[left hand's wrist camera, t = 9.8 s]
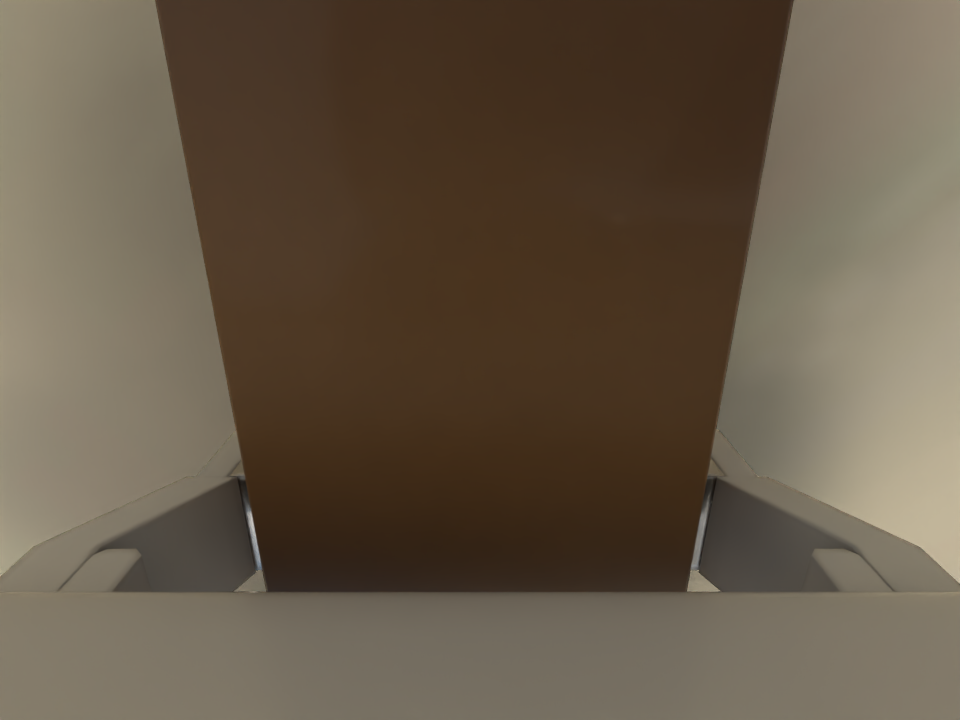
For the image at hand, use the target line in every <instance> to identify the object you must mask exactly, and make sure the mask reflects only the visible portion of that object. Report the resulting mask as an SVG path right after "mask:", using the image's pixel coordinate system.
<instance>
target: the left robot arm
mask: <svg viewBox="0 0 960 720" xmlns="http://www.w3.org/2000/svg"><path fill="white" fill-rule="evenodd" d="M255 570H262V566H261V561H260V555H259V550H258V545H257V539H256V534H255V529H254V523H253V518H252V513H251V507H250V502H249V497H248V491H247V486H246V481H245V475H244V470H243V465H242V459H241V454H240V449H239V443H238V438H237V433H236V430H235V431H234V433H233V434H232V435H231V436H230V437H229V438H228V440H227V441H226V442H225V443H224V444H223V445H222V447H221V448H220V449H219V450H218V451H217V452H216V454H215V455H214V456H213V457H212V458H211V460H210V461H209V462H208V463H207V464H206V465H205V467H204V468H203V469H202V470H201V471H200V472H199V474H198V475H197V476H196V477H185V478H183V479H181V480H179V481H176V482H174V483H172V484H170V485H168V486H165V487H163V488H161V489H159V490H157V491H154V492H152V493H150V494H148V495H146V496H143V497H141V498H139V499H137V500H135V501H132V502H130V503H128V504H126V505H124V506H121V507H119V508H117V509H115V510H113V511H111V512H108V513H106V514H104V515H102V516H100V517H97V518H95V519H93V520H91V521H89V522H86V523H84V524H82V525H80V526H78V527H75V528H73V529H71V530H69V531H67V532H64V533H62V534H60V535H58V536H56V537H53V538H51V539H49V540H47V541H45V542H42V543H40V544H38V545H36V546H34V547H32V548H31V549H30V550H29V551H28V552H27V553H26V554H25V555H24V556H23V557H21V558H20V559H19V560H18V561H17V562H16V563H15V564H14V565H13V566H11V567H10V568H9V569H8V570H7V571H6V572H5V573H4V574H3V575H2V576H0V720H960V584H959V583H958V582H957V581H956V580H955V579H954V578H953V577H952V576H951V575H949V574H948V573H947V572H946V571H945V570H944V569H943V568H942V567H941V566H940V565H939V564H938V563H937V562H935V561H934V560H933V559H932V558H931V557H930V556H929V555H928V554H927V553H926V552H925V551H924V550H922V549H921V548H920V547H918V546H916V545H914V544H912V543H910V542H907V541H905V540H903V539H901V538H899V537H897V536H894V535H892V534H890V533H888V532H886V531H884V530H881V529H879V528H877V527H875V526H873V525H871V524H868V523H866V522H864V521H862V520H860V519H858V518H855V517H853V516H851V515H849V514H847V513H845V512H842V511H840V510H838V509H836V508H834V507H832V506H829V505H827V504H825V503H823V502H821V501H819V500H816V499H814V498H812V497H810V496H808V495H806V494H803V493H801V492H799V491H797V490H795V489H793V488H790V487H788V486H786V485H784V484H782V483H780V482H777V481H775V480H773V479H771V478H769V477H758V476H757V475H756V474H755V472H754V471H753V470H752V469H751V468H750V466H749V465H748V464H747V463H746V462H745V460H744V459H743V458H742V457H741V456H740V454H739V453H738V452H737V451H736V450H735V449H734V447H733V446H732V445H731V444H730V443H729V441H728V440H727V439H726V438H725V437H724V435H723V434H722V433H721V432H720V431H719V430H716V432H715V438H714V443H713V449H712V454H711V460H710V465H709V471H708V476H707V482H706V487H705V493H704V498H703V504H702V509H701V515H700V521H699V526H698V532H697V537H696V543H695V548H694V554H693V559H692V565H691V570H699V573H700V574H701V575H703V576H704V577H705V578H706V579H707V580H708V581H710V582H711V583H712V584H713V585H714V586H715V587H717V588H718V589H719V590H720V591H721V592H233V591H234V590H235V589H237V588H238V587H239V586H240V585H241V584H243V583H244V582H245V581H246V580H247V579H248V578H250V577H251V576H252V575H253V574H254V573H255Z"/></svg>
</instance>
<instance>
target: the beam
mask: <svg viewBox="0 0 960 720" xmlns="http://www.w3.org/2000/svg"><path fill="white" fill-rule="evenodd" d="M793 1H794V0H155V2H156V7H157V12H158V18H159V23H160V28H161V34H162V39H163V44H164V50H165V55H166V60H167V66H168V71H169V76H170V82H171V87H172V92H173V98H174V103H175V108H176V114H177V119H178V124H179V129H180V135H181V140H182V145H183V151H184V156H185V161H186V167H187V172H188V177H189V183H190V188H191V193H192V199H193V204H194V209H195V215H196V220H197V225H198V231H199V236H200V241H201V247H202V252H203V257H204V263H205V268H206V273H207V278H208V284H209V289H210V294H211V300H212V305H213V310H214V316H215V321H216V326H217V332H218V337H219V342H220V348H221V353H222V358H223V364H224V369H225V374H226V380H227V385H228V390H229V396H230V401H231V406H232V412H233V417H234V422H235V427H236V433H237V438H238V443H239V449H240V454H241V459H242V465H243V470H244V475H245V481H246V486H247V491H248V497H249V502H250V507H251V513H252V518H253V523H254V529H255V534H256V539H257V545H258V550H259V555H260V561H261V566H262V571H263V576H264V582H265V587H266V592H687V587H688V581H689V576H690V570H691V565H692V559H693V554H694V548H695V543H696V537H697V532H698V526H699V521H700V515H701V509H702V504H703V498H704V493H705V487H706V482H707V476H708V471H709V465H710V460H711V454H712V449H713V443H714V438H715V432H716V427H717V421H718V416H719V410H720V404H721V399H722V393H723V388H724V382H725V377H726V371H727V366H728V360H729V355H730V349H731V344H732V338H733V333H734V327H735V322H736V316H737V311H738V305H739V299H740V294H741V288H742V283H743V277H744V272H745V266H746V261H747V255H748V250H749V244H750V239H751V233H752V228H753V222H754V217H755V211H756V206H757V200H758V194H759V189H760V183H761V178H762V172H763V167H764V161H765V156H766V150H767V145H768V139H769V134H770V128H771V123H772V117H773V112H774V106H775V101H776V95H777V89H778V84H779V78H780V73H781V67H782V62H783V56H784V51H785V45H786V40H787V34H788V29H789V23H790V18H791V12H792V7H793Z"/></svg>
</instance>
